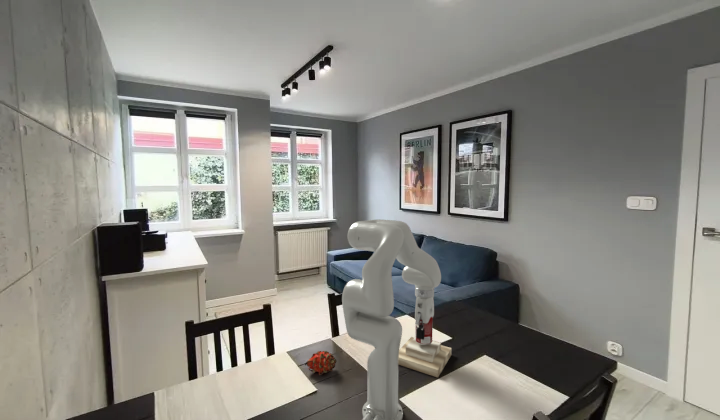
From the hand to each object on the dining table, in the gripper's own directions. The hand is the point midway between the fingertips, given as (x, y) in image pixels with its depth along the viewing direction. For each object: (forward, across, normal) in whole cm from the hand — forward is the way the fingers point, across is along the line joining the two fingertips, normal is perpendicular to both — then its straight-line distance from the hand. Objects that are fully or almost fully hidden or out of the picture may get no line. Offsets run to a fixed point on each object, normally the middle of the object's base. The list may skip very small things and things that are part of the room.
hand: (423, 334), depth 127 cm
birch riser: (+10, 0, 0) cm, 10 cm away
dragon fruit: (+11, -29, +30) cm, 43 cm away
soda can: (+3, 0, 0) cm, 3 cm away
